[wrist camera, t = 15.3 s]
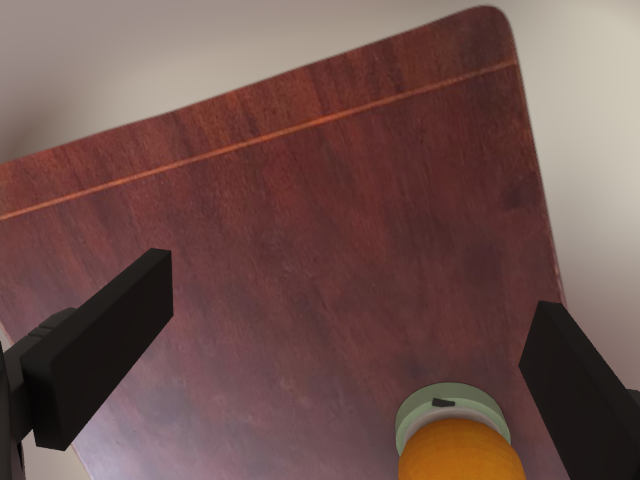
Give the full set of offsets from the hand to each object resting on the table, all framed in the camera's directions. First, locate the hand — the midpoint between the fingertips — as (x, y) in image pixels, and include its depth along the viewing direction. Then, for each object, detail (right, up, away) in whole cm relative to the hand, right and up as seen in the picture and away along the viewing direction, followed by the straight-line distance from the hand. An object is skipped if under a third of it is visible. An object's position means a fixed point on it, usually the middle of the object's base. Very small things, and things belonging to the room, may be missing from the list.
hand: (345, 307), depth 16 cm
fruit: (+13, -19, +30) cm, 38 cm away
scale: (+13, -18, +33) cm, 40 cm away
